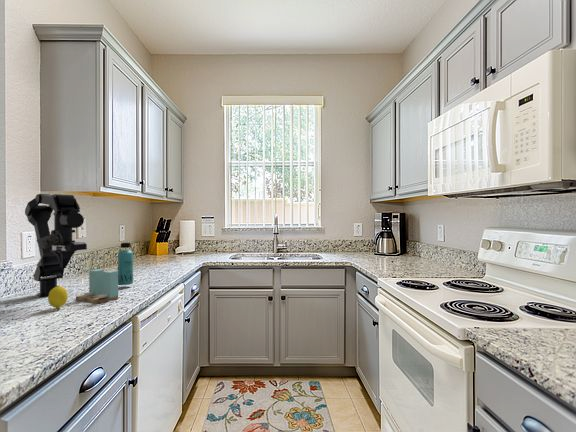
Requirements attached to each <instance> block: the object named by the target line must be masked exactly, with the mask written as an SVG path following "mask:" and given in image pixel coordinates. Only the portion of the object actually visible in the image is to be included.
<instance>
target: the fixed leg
mask: <svg viewBox="0 0 576 432" xmlns="http://www.w3.org/2000/svg"><path fill="white" fill-rule="evenodd" d="M115 296H118V297H119V285H118V270H108V271H104V294H103V295H99V298H103V297H108V298H112V297H115Z"/></svg>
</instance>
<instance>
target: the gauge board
mask: <svg viewBox="0 0 576 432" xmlns="http://www.w3.org/2000/svg"><path fill="white" fill-rule="evenodd" d="M101 295H103V294H101ZM118 299H119V295H118V296H115V297H112V298H108V297H103V298H99V295H97V296H94V295H88V296H84V294H81V295H76V296H75V300H76V301H80V300H82V302H87V301H88V302H89V303H93V302H94V303H95V304H105V303H107V302H112V301H115V300H118Z"/></svg>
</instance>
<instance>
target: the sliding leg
mask: <svg viewBox="0 0 576 432" xmlns="http://www.w3.org/2000/svg"><path fill="white" fill-rule="evenodd" d="M104 272H105V271H104V269H98V268H97V269H96V268H95V269H89V272H88V275H89V278H88V282H89V283H88V285H89V287H88V289H89V290H88V291H89V292H85V293H83V295H84V296H88V295H94V296H97V295H101V294H104Z"/></svg>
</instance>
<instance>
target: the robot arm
mask: <svg viewBox="0 0 576 432" xmlns="http://www.w3.org/2000/svg"><path fill="white" fill-rule="evenodd" d="M42 204H43V205H42ZM80 209H81V207H80V205H79V203H78V202H77V199H76V197H75V196H74V195H73V194H57V193H54V194H50V193H38V194H36V196H35V197H34V198H33V199H32V200H30V201H28V202H27V204H26V207H25V209H24V215H25V216H26V218H27V221H28V222H29V223H30V224H31V225H32V226H34V231H35V232H34V233H35V236H36V244H37V247H38V251H39V256H40V258H39V260H38V262H37V264H36V268H35V271H34V273H33V281H35V282H39V292H37V293H36V295H38V296H39V297H40V298H41V297H48V296H49V292H50V291H51V290H52V289H53V288H55V287H56V286H58V279H63V278H64V277H63V276H64V271H65V269H66V268H67V266H68V265H69V263H70V260H71V258H72V257H73V255H74V254H75V253H76V252H77V251H82V250H83V251H84V250H85V251H86V250H87V249H88V248H87V247H88V244H87V243H86V242H84V241H75V240H73V233H74V234H75V233H76V230H75V229H76V228H80V227H82V226H83V224H84V222H85V219H84V216H83V215H82V214H81V213H80V212H81V210H80ZM53 211H54V212H53ZM52 215H53V216H54V218H53V219H54V221H53V222H54V225H53V227H54V228H53V229H52V230H51V231H50V226H49V221H50V218H51V216H52Z"/></svg>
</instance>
